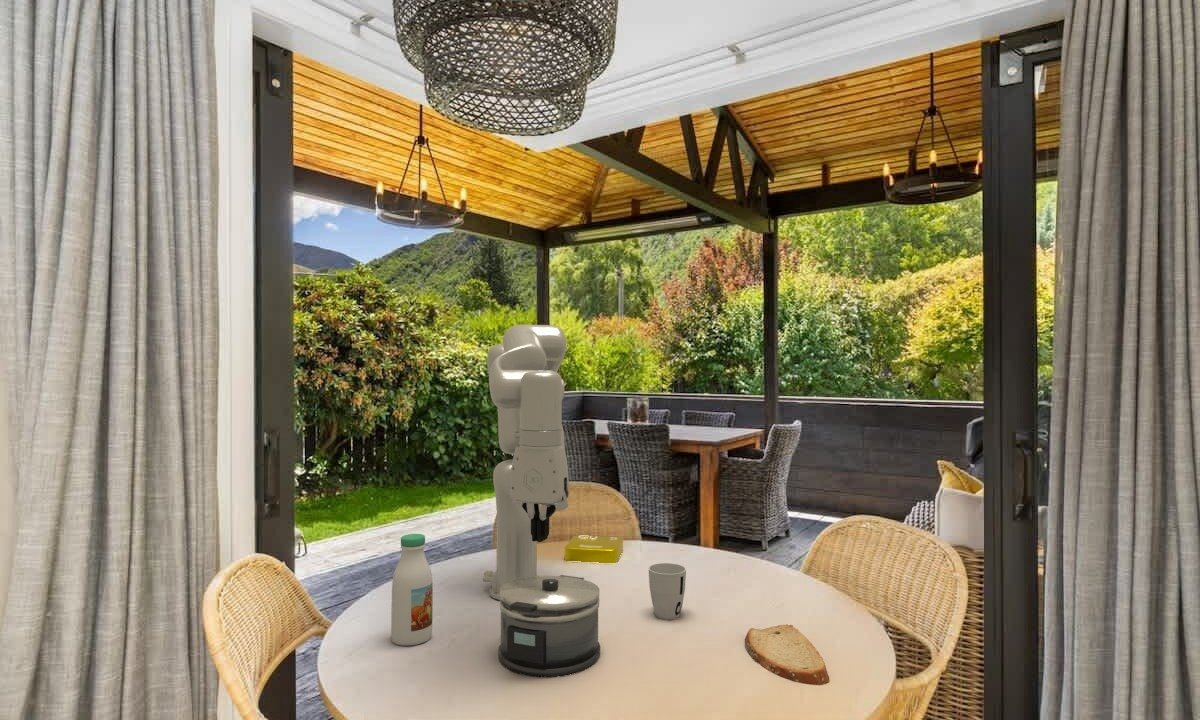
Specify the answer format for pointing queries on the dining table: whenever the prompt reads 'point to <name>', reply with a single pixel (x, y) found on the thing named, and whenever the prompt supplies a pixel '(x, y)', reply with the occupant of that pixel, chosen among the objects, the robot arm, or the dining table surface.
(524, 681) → the dining table surface
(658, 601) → the cup
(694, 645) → the dining table surface
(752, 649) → the slice of bread
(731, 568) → the dining table surface
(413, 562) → the milk bottle
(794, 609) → the dining table surface
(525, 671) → the pot
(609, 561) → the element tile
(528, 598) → the lid
